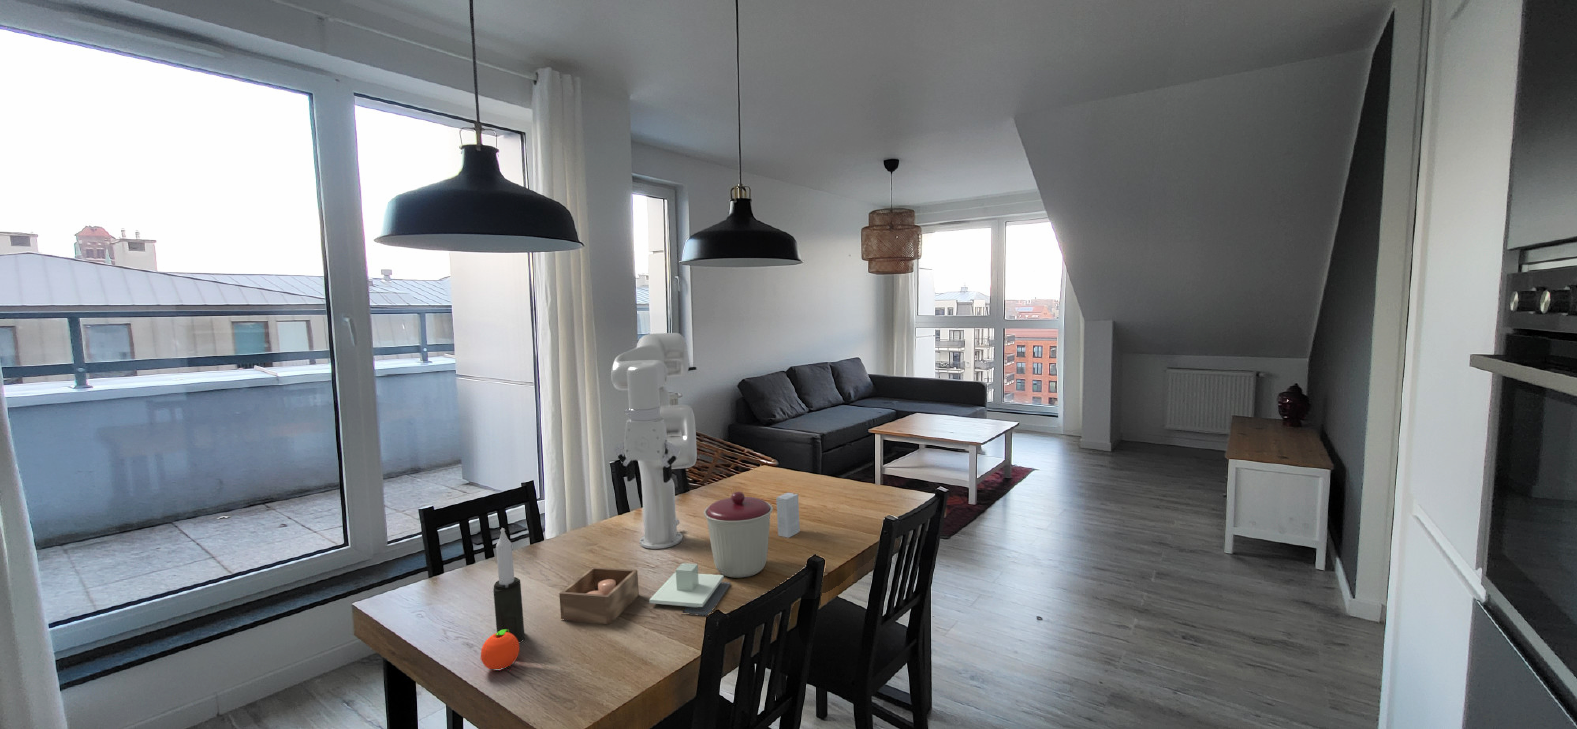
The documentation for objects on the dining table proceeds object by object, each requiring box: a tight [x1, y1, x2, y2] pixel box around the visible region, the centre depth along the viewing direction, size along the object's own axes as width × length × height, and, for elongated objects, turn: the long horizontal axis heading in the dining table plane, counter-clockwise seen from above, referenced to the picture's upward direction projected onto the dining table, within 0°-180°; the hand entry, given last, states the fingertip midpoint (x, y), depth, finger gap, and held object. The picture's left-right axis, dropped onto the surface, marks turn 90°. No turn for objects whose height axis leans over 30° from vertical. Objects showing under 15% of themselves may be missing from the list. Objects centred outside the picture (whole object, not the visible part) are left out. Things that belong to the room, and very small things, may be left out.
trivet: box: [682, 581, 731, 617], centre depth 147 cm, size 16×16×1 cm
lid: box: [649, 562, 725, 608], centre depth 147 cm, size 15×13×7 cm
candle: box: [492, 527, 525, 643], centre depth 129 cm, size 5×5×25 cm
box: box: [558, 566, 640, 625], centre depth 142 cm, size 14×12×7 cm
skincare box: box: [776, 491, 801, 539], centre depth 186 cm, size 6×4×12 cm
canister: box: [703, 491, 774, 579], centre depth 161 cm, size 18×18×21 cm
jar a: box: [598, 579, 616, 595], centre depth 145 cm, size 4×4×4 cm
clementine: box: [480, 629, 520, 670], centre depth 121 cm, size 8×7×7 cm
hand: (649, 480), depth 154 cm, fingers open, 9 cm apart
